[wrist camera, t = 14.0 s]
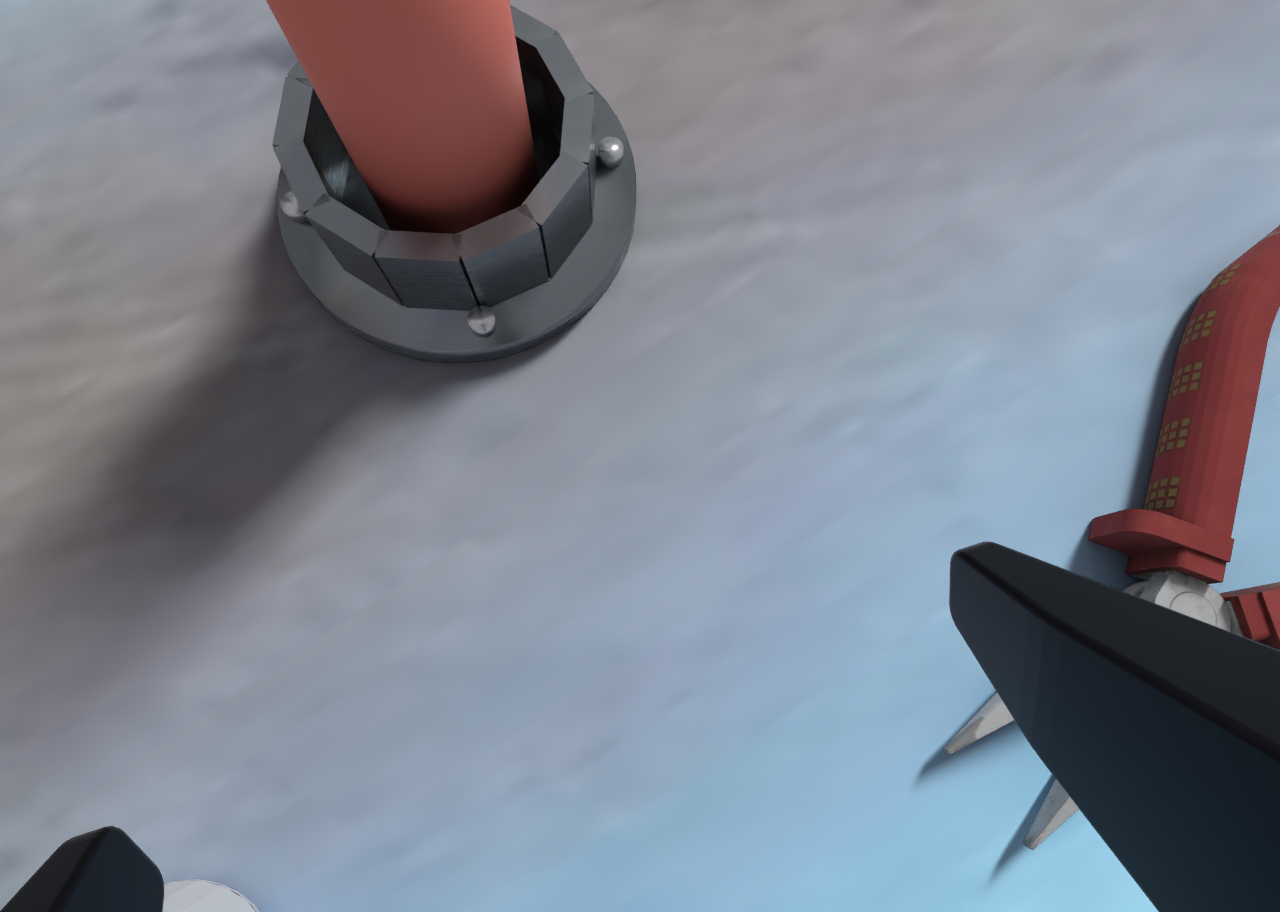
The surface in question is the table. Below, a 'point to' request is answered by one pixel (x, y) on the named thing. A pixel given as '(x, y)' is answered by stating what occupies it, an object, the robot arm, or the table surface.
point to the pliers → (1191, 482)
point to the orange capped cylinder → (422, 103)
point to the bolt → (204, 897)
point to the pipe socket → (477, 257)
